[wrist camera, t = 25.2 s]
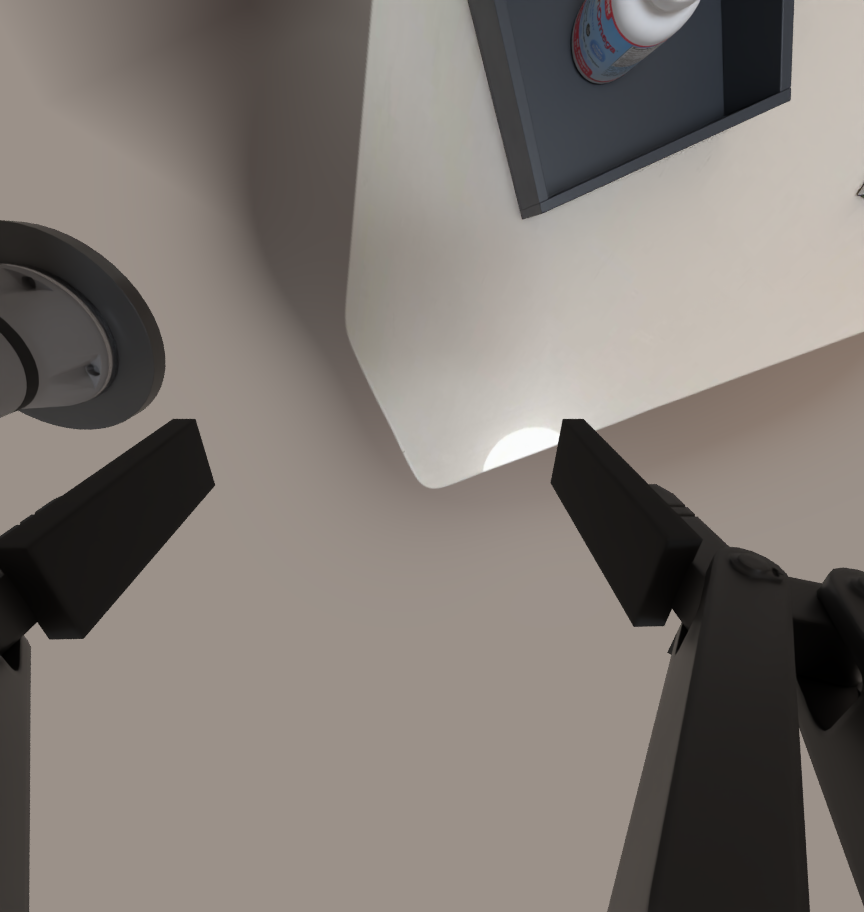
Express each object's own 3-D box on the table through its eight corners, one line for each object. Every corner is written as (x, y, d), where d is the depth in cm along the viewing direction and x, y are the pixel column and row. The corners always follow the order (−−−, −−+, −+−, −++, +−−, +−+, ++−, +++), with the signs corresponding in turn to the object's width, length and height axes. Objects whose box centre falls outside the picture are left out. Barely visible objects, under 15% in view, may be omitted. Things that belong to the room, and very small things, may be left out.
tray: (452, -60, 29) (462, -140, 23) (718, -216, 26) (808, -354, 20) (522, 219, 38) (541, 213, 32) (727, 125, 35) (791, 100, 29)
